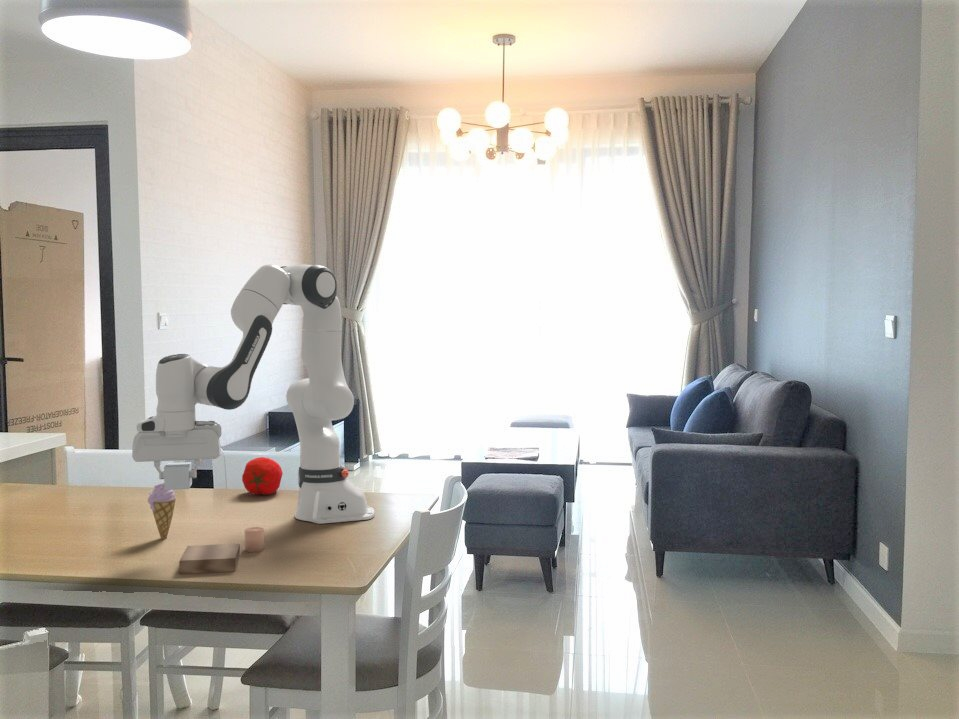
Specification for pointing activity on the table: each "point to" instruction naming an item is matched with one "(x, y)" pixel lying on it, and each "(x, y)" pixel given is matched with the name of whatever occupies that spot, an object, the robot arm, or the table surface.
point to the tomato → (262, 476)
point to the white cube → (177, 476)
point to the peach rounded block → (254, 539)
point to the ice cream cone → (162, 508)
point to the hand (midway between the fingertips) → (178, 478)
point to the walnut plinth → (210, 558)
